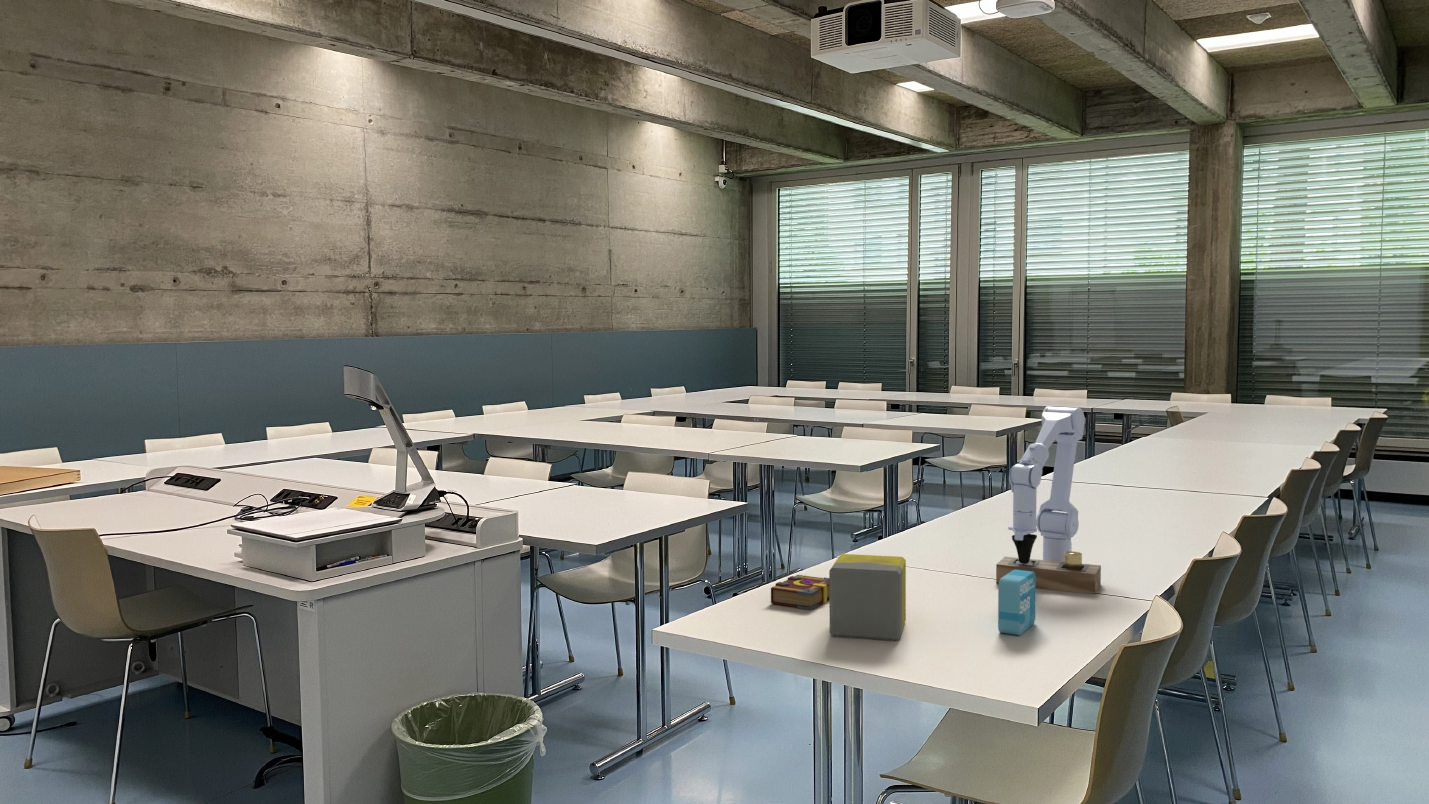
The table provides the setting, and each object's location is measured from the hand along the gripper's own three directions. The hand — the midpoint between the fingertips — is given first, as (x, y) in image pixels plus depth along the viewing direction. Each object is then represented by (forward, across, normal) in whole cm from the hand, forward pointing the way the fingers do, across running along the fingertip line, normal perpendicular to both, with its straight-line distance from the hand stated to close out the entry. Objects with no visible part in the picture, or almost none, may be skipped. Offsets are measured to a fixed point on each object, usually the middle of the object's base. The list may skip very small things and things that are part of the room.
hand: (1024, 562), depth 261 cm
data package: (+5, +42, +7) cm, 43 cm away
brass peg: (+1, 0, +12) cm, 12 cm away
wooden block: (+5, 0, +6) cm, 8 cm away
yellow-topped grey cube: (+5, +52, -23) cm, 57 cm away
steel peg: (+5, 0, 0) cm, 5 cm away
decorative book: (+6, +40, -44) cm, 60 cm away
